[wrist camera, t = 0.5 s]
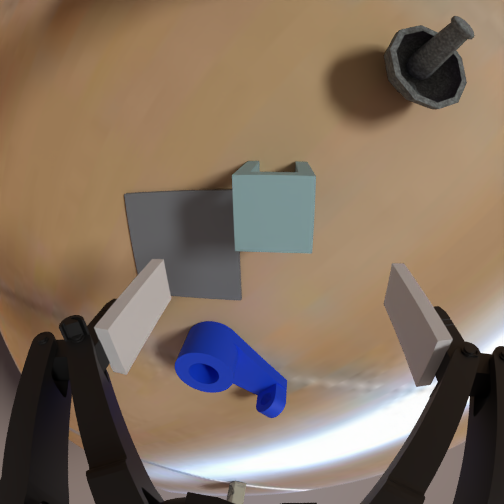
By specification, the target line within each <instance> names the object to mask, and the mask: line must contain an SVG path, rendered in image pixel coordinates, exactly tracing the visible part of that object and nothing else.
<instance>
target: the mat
mask: <svg viewBox="0 0 504 504" xmlns="http://www.w3.org/2000/svg"><path fill="white" fill-rule="evenodd" d="M124 196H125V204H126V211H127V217H128V224H129V230H130V236H131V241H132V247H133V252H134V257H135V262H136V267H137V272H138V274H139V273H140V272H141V271H142V270H143V269H144V268H145V266H146V265H147V264H148V263H149V262H150V261H151V260H152V259H164V264H165V269H166V275H167V280H168V285H169V290H170V295H171V296H181V297H194V298H209V299H225V300H241V299H242V295H241V272H240V251H235V238H234V215H233V191H232V189H230V190H182V191H157V192H139V193H126V194H124Z"/></svg>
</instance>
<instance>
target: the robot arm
mask: <svg viewBox="0 0 504 504" xmlns="http://www.w3.org/2000/svg"><path fill="white" fill-rule="evenodd" d="M170 300H171V295H170V290H169V285H168V280H167V275H166V269H165V264H164V259H152V260H151V261H150V262H149V263H148V264H147V265H146V266H145V268H144V269H143V270H142V271H141V272H140V273H139V274H138V275H137V277H136V278H135V279H134V280H133V281H132V282H131V284H130V285H129V286H128V287H127V288H126V289H125V290H124V292H123V293H122V294H121V295H120V296H119V298H118V299H113V300H111V301H110V302H108V303H106V305H105V306H104V307H103V308H102V309H101V311H100V312H99V313H98V314H97V315H96V316H95V317H94V319H93V320H92V321H91V322H90V323H89V325H88V326H87V325H86V323H85V321H84V318H83V317H82V316H80V315H73V316H69V317H67V318H65V319H64V320H63V321H62V322H61V323H60V325H59V329H60V331H61V333H62V335H63V338H64V340H56V339H55V337H54V335H53V334H52V333H51V332H43V333H40V334H38V335H37V336H36V337H35V338H34V339H33V341H32V344H31V347H30V349H29V352H28V355H27V358H26V361H25V364H24V368H23V371H22V374H21V378H20V381H19V385H18V388H17V392H16V396H15V400H14V404H13V408H12V413H11V417H10V422H9V427H8V432H7V438H6V444H5V451H4V459H3V467H2V477H1V480H0V504H69V489H68V437H69V420H70V408H71V398H72V397H73V402H74V408H75V413H76V418H77V422H78V427H79V431H80V435H81V439H82V443H83V447H84V450H85V454H86V457H87V460H88V464H89V470H88V471H86V476H87V481H88V484H89V487H90V490H91V492H92V495H93V498H94V501H95V503H96V504H235V503H232V502H229V501H226V500H223V499H221V498H218V497H212V496H206V495H201V494H195V493H190V492H187V496H186V497H184V498H175V499H170V500H166V501H164V500H163V499H162V497H161V496H160V494H159V493H158V492H157V490H156V489H155V487H154V486H153V484H152V482H151V480H150V478H149V476H148V474H147V472H146V470H145V468H144V466H143V464H142V461H141V459H140V457H139V455H138V453H137V450H136V448H135V446H134V443H133V441H132V439H131V436H130V434H129V431H128V429H127V426H126V424H125V421H124V418H123V416H122V413H121V410H120V408H119V405H118V402H117V399H116V396H115V393H114V390H113V387H112V384H111V381H110V377H109V374H108V372H107V370H106V368H107V366H108V365H109V363H110V365H111V368H112V370H113V372H117V373H121V374H126V375H127V373H128V371H129V370H130V368H131V366H132V364H133V363H134V361H135V359H136V357H137V356H138V354H139V352H140V350H141V349H142V347H143V345H144V344H145V342H146V340H147V338H148V337H149V335H150V333H151V332H152V330H153V328H154V327H155V325H156V323H157V321H158V320H159V318H160V316H161V315H162V313H163V311H164V310H165V308H166V307H167V305H168V303H169V302H170ZM384 306H385V308H386V310H387V313H388V315H389V317H390V320H391V322H392V324H393V327H394V329H395V332H396V334H397V337H398V339H399V342H400V344H401V347H402V349H403V352H404V354H405V357H406V360H407V362H408V365H409V368H410V370H411V373H412V376H413V379H414V381H415V384H416V387H418V386H425V385H431V383H432V381H433V379H434V377H435V376H436V378H437V381H438V383H437V385H436V386H435V388H434V390H433V392H432V393H431V395H430V399H429V401H428V403H427V404H426V406H425V408H424V410H423V412H422V414H421V416H420V418H419V419H418V421H417V423H416V425H415V426H414V428H413V430H412V432H411V433H410V435H409V437H408V438H407V440H406V441H405V443H404V445H403V446H402V448H401V449H400V451H399V452H398V454H397V455H396V457H395V458H394V460H393V461H392V463H391V464H390V466H389V467H388V469H387V470H386V471H385V473H384V474H383V476H382V477H381V478H380V480H379V481H378V482H377V484H376V485H375V486H374V487H373V489H372V490H371V491H370V493H369V494H368V495H367V496H366V497H365V499H364V500H363V501H362V502H361V503H360V504H423V502H424V500H425V496H424V494H425V492H426V490H427V488H428V486H429V485H430V483H431V481H432V479H433V477H434V476H435V474H436V472H437V470H438V468H439V466H440V464H441V462H442V460H443V458H444V456H445V454H446V452H447V450H448V448H449V446H450V443H451V441H452V439H453V437H454V434H455V432H456V430H457V427H458V425H459V422H460V420H461V417H462V414H463V412H464V409H465V406H466V403H467V400H468V398H469V396H470V405H469V418H468V428H467V436H466V443H465V450H464V457H463V463H462V468H461V472H460V477H459V481H458V486H457V490H456V494H455V498H454V501H453V504H504V346H499V347H496V348H495V350H494V351H493V353H492V354H484V353H480V351H479V349H478V348H477V347H476V346H475V345H474V344H472V343H469V342H464V340H463V338H462V337H461V335H460V333H459V332H458V330H457V328H456V327H455V325H454V324H453V322H452V321H451V320H450V317H449V316H448V314H447V313H446V312H445V311H444V310H443V309H442V308H440V307H439V306H437V307H433V306H432V304H431V302H430V301H429V299H428V298H427V296H426V295H425V293H424V292H423V290H422V289H421V287H420V286H419V284H418V283H417V281H416V280H415V278H414V277H413V276H412V274H411V273H410V271H409V270H408V268H407V267H406V266H405V264H404V263H392V267H391V272H390V277H389V282H388V286H387V291H386V296H385V300H384ZM282 504H317V503H282Z"/></svg>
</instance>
